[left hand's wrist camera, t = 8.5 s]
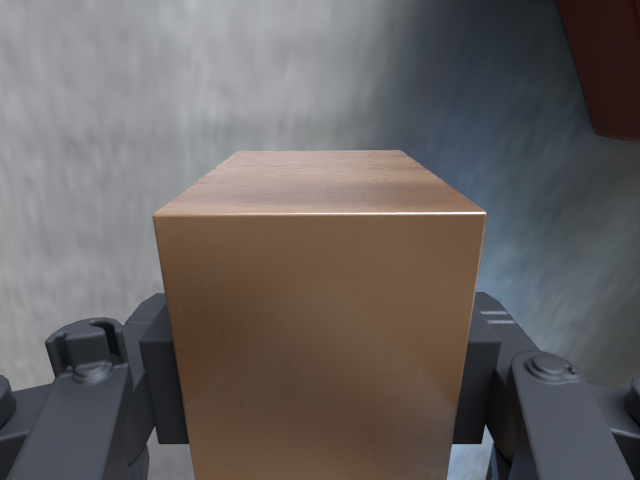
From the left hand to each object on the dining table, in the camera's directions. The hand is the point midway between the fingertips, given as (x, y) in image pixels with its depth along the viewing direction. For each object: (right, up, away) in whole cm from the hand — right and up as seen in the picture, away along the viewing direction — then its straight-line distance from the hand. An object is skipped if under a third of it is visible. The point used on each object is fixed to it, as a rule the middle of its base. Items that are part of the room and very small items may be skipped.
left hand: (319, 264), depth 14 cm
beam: (0, -20, +8) cm, 21 cm away
